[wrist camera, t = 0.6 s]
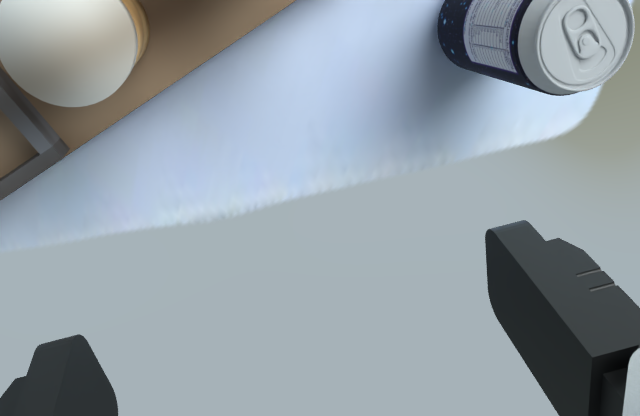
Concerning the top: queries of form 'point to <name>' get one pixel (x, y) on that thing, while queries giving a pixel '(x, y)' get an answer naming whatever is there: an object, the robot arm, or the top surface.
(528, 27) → the beverage can
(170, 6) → the bottle rack
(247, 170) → the top surface
